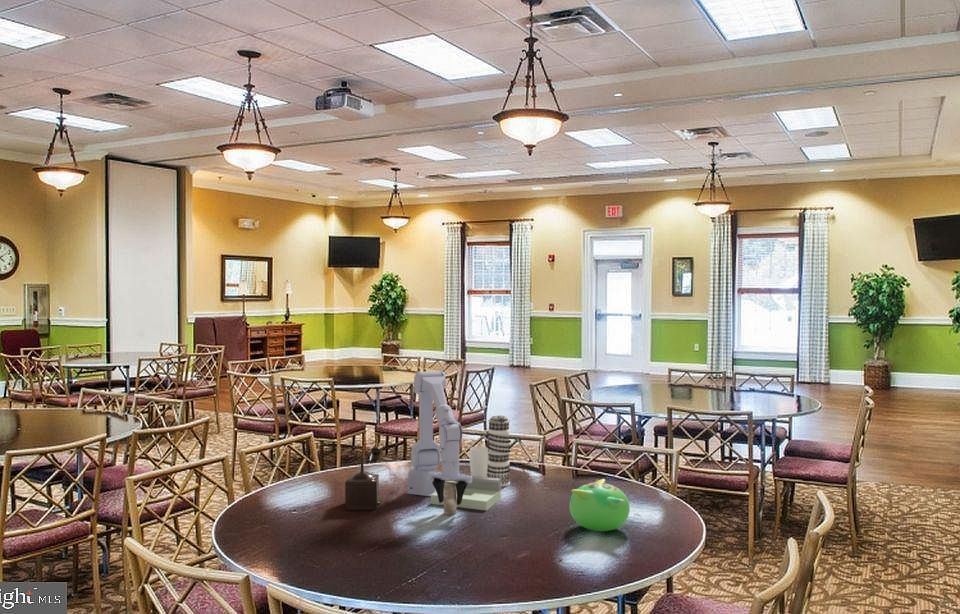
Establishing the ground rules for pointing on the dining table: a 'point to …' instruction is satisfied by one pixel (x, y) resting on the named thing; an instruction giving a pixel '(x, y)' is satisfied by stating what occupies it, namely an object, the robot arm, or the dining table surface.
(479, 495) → the socket board
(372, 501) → the pepper mill
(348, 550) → the dining table surface
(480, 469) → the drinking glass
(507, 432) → the decorative candle
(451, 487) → the peg
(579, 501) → the toy bird
